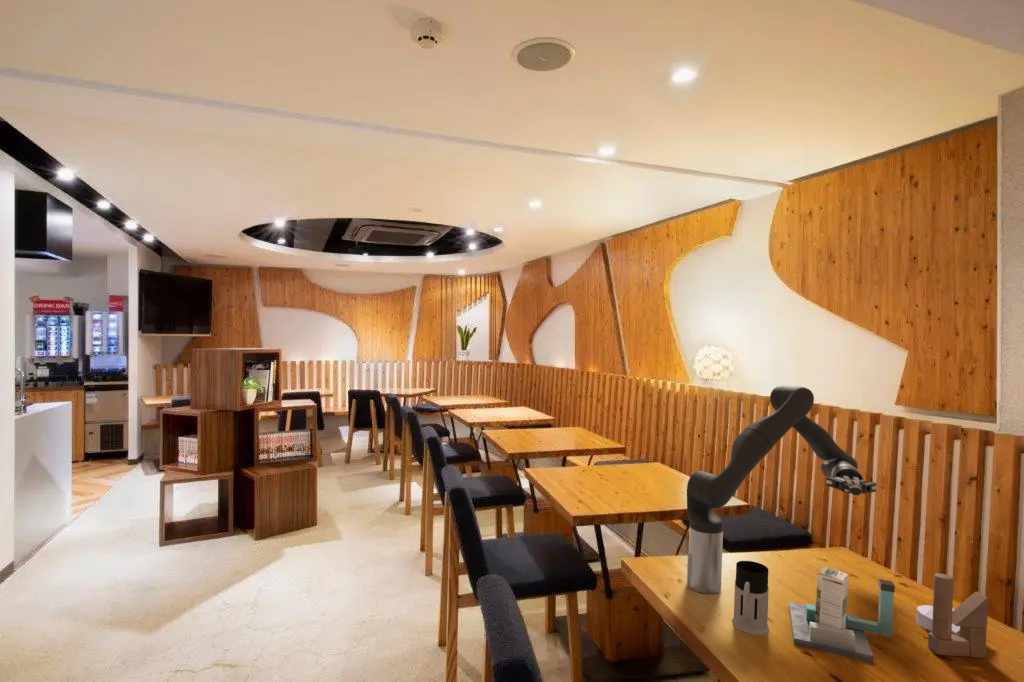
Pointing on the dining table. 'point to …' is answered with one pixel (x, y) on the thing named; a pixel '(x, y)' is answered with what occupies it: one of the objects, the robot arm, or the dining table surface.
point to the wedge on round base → (931, 618)
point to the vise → (828, 636)
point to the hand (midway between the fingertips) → (856, 491)
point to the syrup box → (831, 598)
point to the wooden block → (957, 622)
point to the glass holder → (751, 598)
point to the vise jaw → (878, 627)
